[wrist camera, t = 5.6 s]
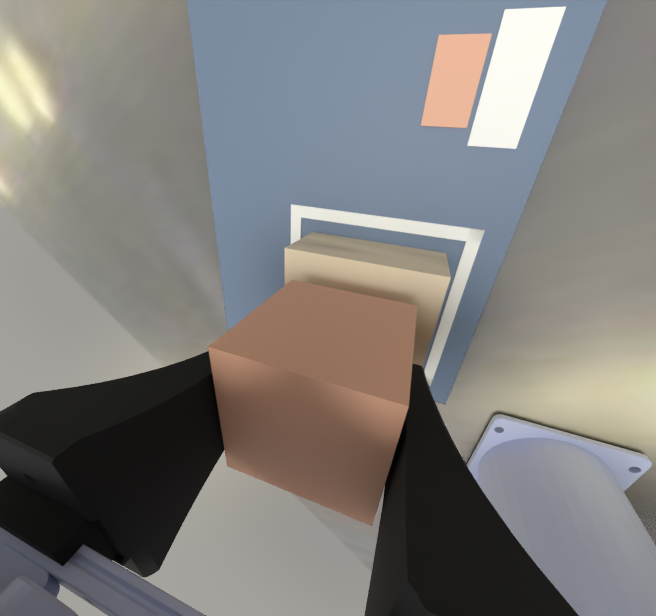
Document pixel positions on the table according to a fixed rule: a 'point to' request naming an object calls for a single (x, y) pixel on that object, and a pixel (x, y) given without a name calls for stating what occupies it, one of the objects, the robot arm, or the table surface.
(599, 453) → the robot arm
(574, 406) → the table surface
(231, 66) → the board
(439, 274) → the beech block
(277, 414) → the terracotta cube
